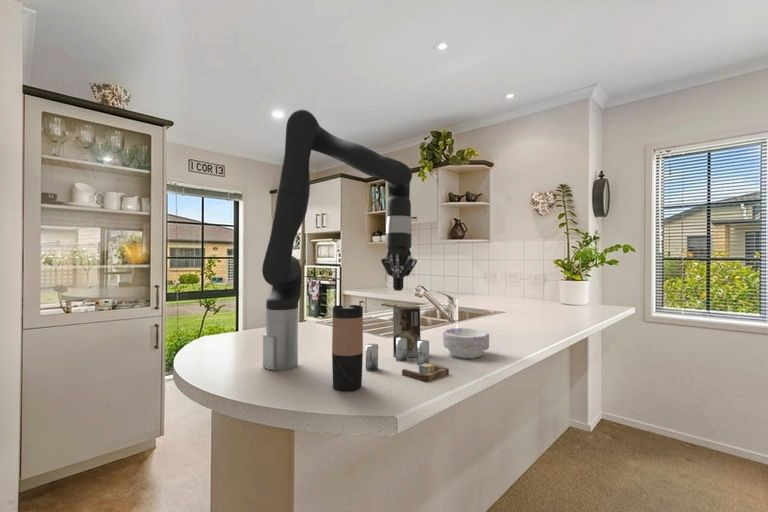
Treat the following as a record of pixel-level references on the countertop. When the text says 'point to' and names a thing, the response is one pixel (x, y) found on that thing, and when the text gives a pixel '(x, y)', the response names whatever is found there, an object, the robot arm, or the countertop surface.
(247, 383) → the countertop surface
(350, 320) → the travel mug
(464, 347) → the marble bowl
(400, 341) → the block
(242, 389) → the countertop surface
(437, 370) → the tray
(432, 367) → the alphabet block
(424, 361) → the spacer
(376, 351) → the spacer
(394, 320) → the coffee box
